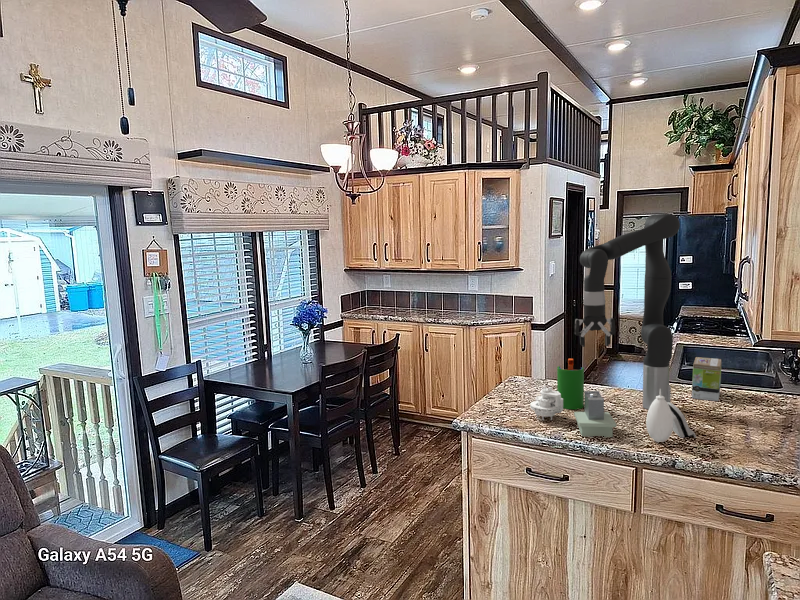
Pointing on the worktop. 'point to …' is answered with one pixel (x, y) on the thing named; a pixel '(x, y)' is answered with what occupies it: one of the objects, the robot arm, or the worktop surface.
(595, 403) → the housing
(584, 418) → the stand
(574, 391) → the motor
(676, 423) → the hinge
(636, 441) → the worktop surface
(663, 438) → the sauce bottle
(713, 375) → the tea box
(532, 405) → the mechanical part
